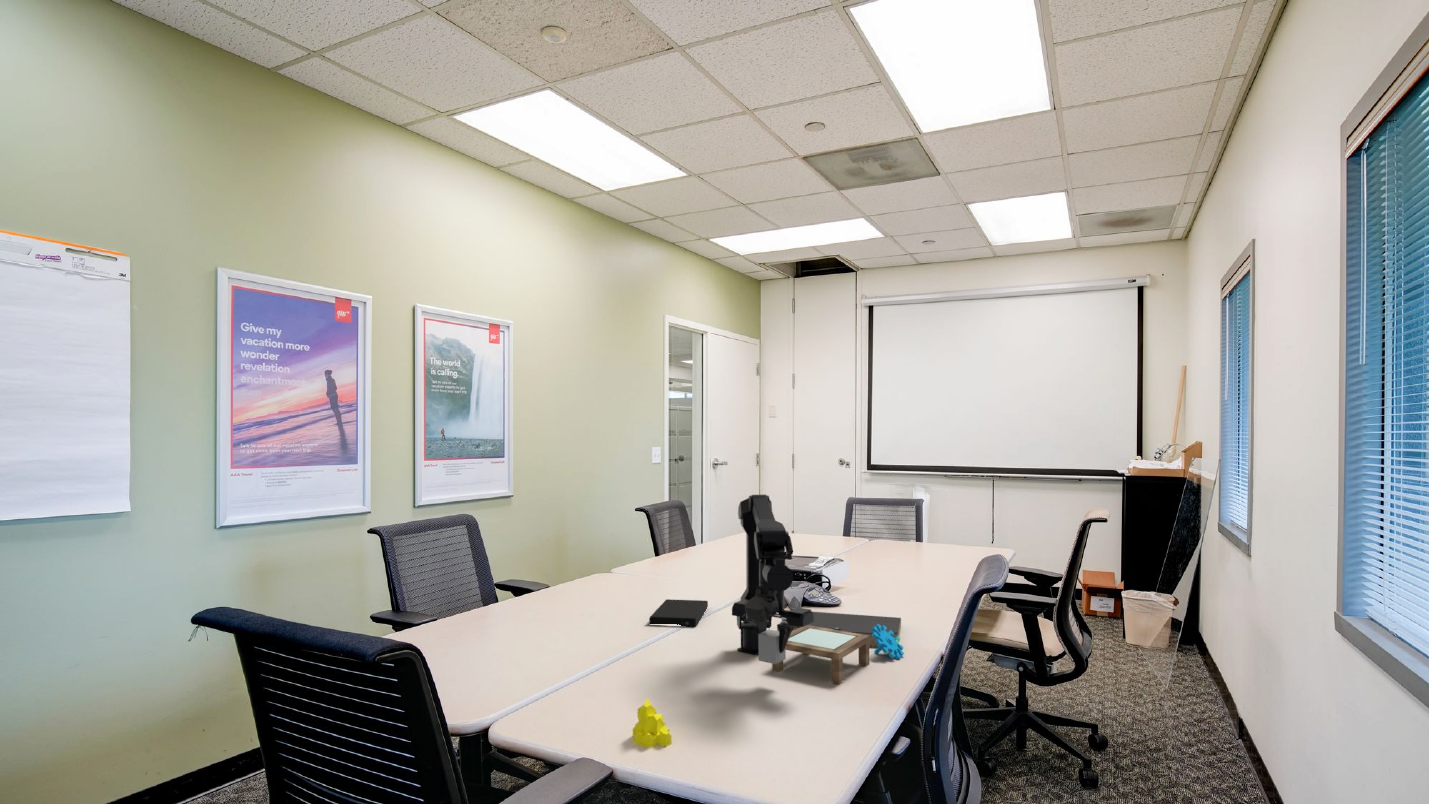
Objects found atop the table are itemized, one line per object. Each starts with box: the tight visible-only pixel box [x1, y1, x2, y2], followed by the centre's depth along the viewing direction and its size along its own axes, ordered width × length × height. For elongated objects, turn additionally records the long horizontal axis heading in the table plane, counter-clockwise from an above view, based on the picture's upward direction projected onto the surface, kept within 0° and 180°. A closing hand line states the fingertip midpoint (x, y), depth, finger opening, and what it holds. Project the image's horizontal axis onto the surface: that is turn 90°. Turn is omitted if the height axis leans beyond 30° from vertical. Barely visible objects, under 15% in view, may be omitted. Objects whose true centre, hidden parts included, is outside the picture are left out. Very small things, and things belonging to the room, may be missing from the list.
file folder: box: [776, 611, 902, 647], centre depth 204 cm, size 33×4×24 cm
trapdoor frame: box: [771, 625, 870, 685], centre depth 174 cm, size 18×18×7 cm
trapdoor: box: [788, 628, 856, 650], centre depth 174 cm, size 13×13×1 cm
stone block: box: [758, 628, 787, 665], centre depth 160 cm, size 4×4×6 cm
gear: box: [872, 624, 905, 660], centre depth 184 cm, size 11×6×10 cm
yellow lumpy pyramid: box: [632, 697, 672, 749], centre depth 132 cm, size 6×8×8 cm
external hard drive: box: [648, 599, 709, 628], centre depth 223 cm, size 14×23×3 cm, turn 172°
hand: (772, 650), depth 160 cm, fingers closed on stone block, 4 cm apart
